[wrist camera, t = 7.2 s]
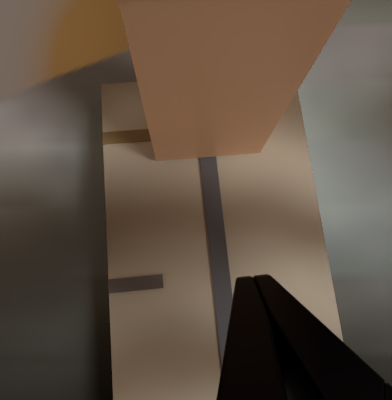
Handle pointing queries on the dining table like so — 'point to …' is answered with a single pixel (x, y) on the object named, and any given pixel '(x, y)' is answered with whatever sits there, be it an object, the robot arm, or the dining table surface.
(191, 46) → the fader tab
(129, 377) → the fader console
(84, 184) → the dining table surface
